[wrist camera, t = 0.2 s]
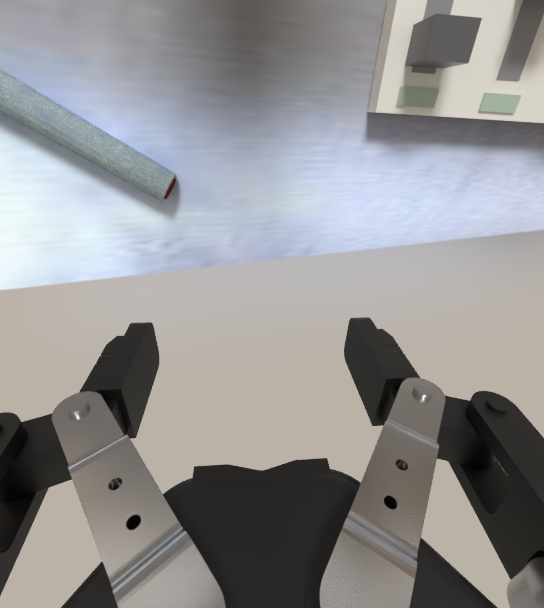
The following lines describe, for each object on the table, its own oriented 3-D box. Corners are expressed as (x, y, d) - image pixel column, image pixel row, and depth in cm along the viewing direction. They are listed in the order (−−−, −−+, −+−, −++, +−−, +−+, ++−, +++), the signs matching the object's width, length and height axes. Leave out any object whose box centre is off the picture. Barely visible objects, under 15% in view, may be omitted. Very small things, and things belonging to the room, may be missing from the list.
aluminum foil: (179, 172, 37) (174, 178, 34) (156, 221, 39) (150, 230, 37) (-53, 33, 29) (-85, 23, 26) (-62, 105, 32) (-93, 104, 29)
